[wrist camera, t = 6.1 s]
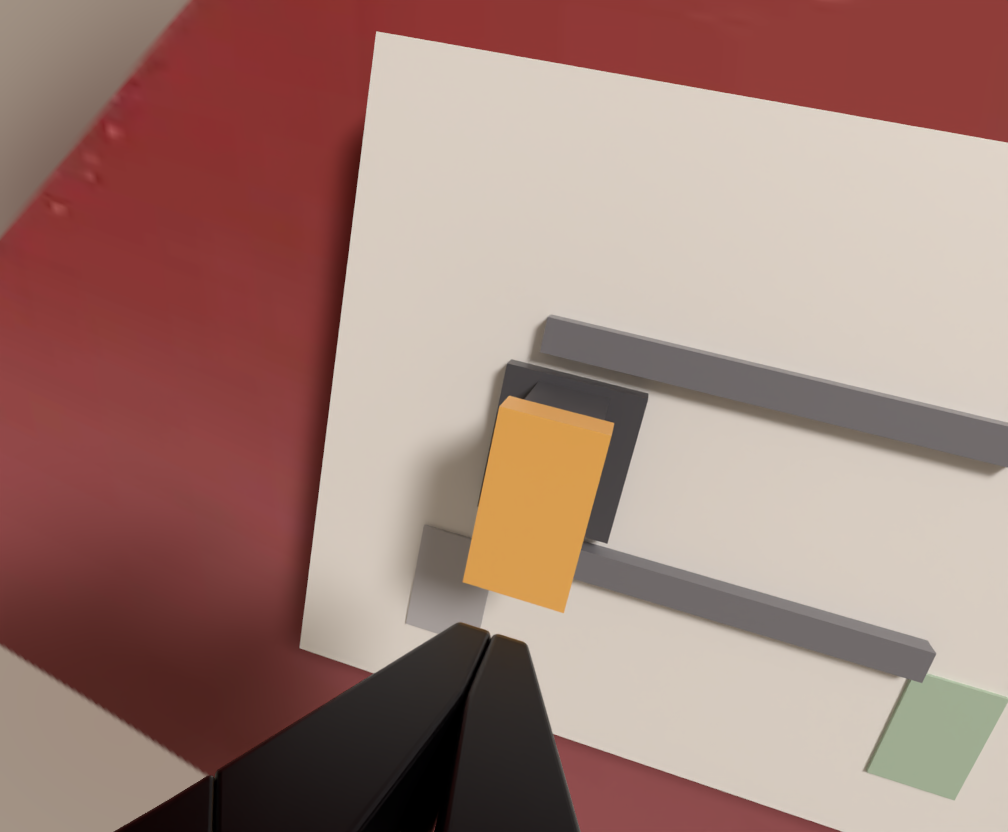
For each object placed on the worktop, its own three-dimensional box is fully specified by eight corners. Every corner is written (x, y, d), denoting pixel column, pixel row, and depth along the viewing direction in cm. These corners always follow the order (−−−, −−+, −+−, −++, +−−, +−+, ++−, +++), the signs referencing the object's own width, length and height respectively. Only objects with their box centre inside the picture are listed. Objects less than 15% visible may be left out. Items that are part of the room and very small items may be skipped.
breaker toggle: (648, 393, 15) (646, 445, 11) (608, 534, 16) (595, 622, 12) (511, 358, 15) (467, 397, 12) (482, 498, 16) (433, 572, 13)
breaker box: (1313, 228, 14) (1521, 226, 10) (990, 800, 19) (1062, 922, 15) (423, 65, 17) (366, 24, 13) (345, 594, 22) (290, 658, 18)
